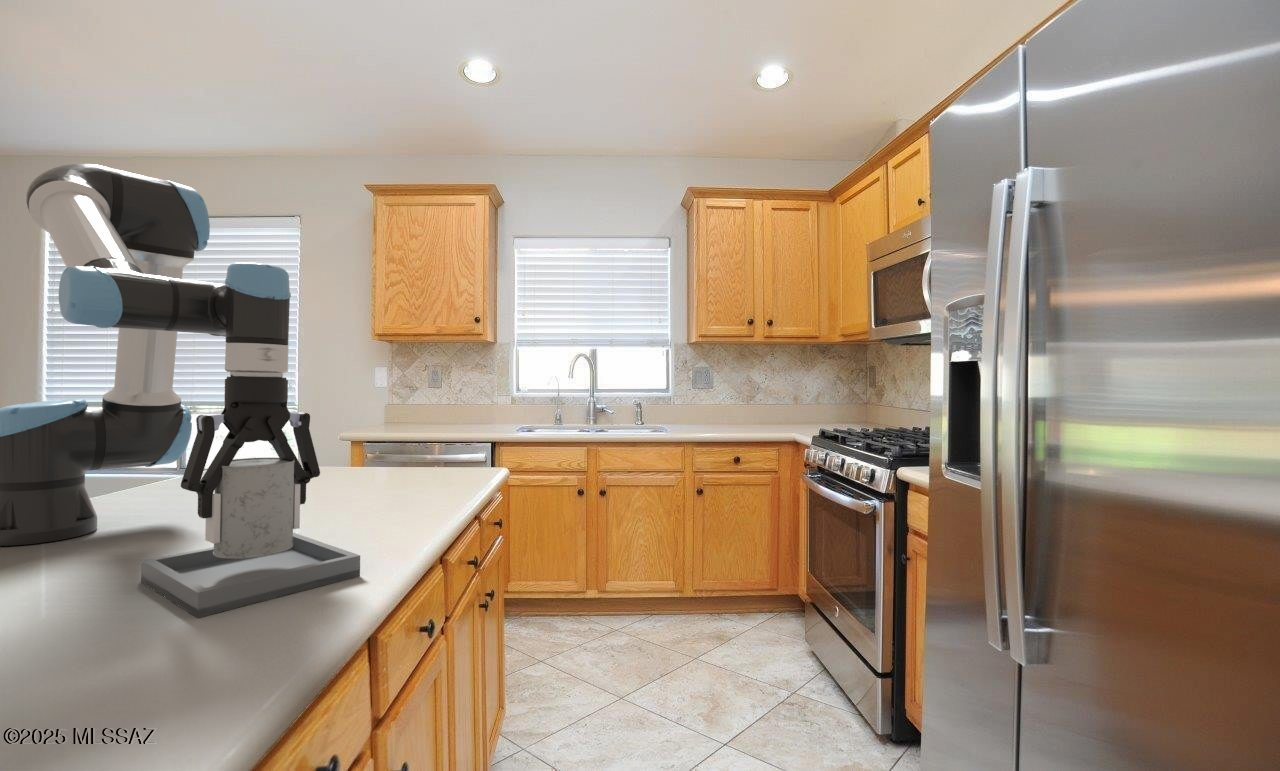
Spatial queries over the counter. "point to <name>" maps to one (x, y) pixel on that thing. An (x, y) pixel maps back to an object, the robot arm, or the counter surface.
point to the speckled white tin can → (255, 508)
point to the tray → (246, 575)
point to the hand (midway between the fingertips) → (254, 533)
